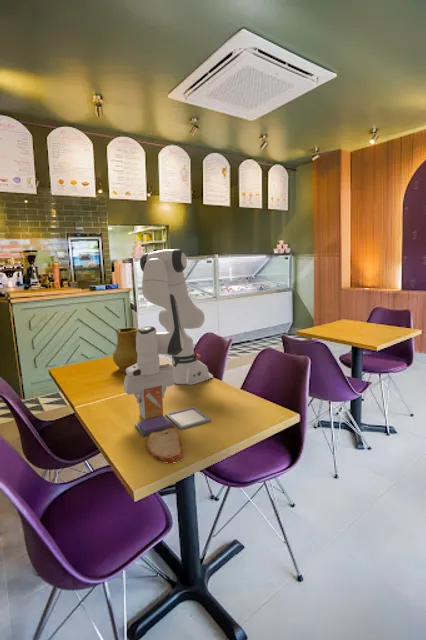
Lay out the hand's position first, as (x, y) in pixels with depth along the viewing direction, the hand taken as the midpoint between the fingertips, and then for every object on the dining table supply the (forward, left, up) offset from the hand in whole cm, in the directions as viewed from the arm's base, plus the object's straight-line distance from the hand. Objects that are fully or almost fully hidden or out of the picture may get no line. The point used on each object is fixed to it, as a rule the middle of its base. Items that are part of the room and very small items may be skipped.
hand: (150, 400), depth 145 cm
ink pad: (+3, +11, -7) cm, 13 cm away
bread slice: (+4, +27, -7) cm, 28 cm away
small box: (0, 0, -7) cm, 7 cm away
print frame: (-11, +11, -7) cm, 17 cm away
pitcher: (-11, -70, -7) cm, 71 cm away
